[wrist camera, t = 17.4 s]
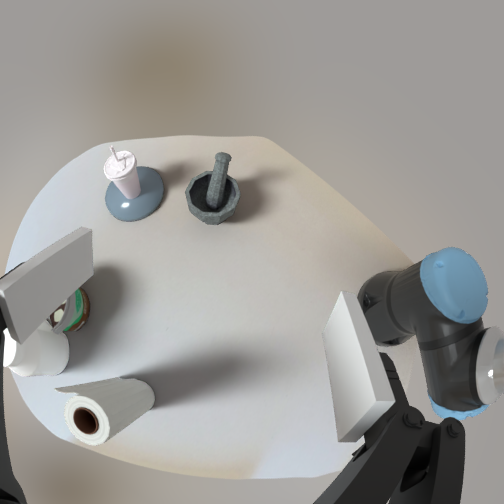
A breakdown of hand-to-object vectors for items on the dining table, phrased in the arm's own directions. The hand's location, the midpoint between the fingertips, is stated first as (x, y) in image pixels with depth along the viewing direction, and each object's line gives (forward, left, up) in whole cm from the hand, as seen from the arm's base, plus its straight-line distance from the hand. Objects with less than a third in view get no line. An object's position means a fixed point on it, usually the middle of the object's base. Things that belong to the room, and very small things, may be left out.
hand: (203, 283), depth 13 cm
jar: (+33, -14, -36) cm, 50 cm away
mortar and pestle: (-12, -21, -36) cm, 43 cm away
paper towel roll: (+19, +2, -36) cm, 40 cm away
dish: (+1, -33, -35) cm, 48 cm away
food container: (+21, -18, -36) cm, 45 cm away
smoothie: (+1, -33, -34) cm, 48 cm away
